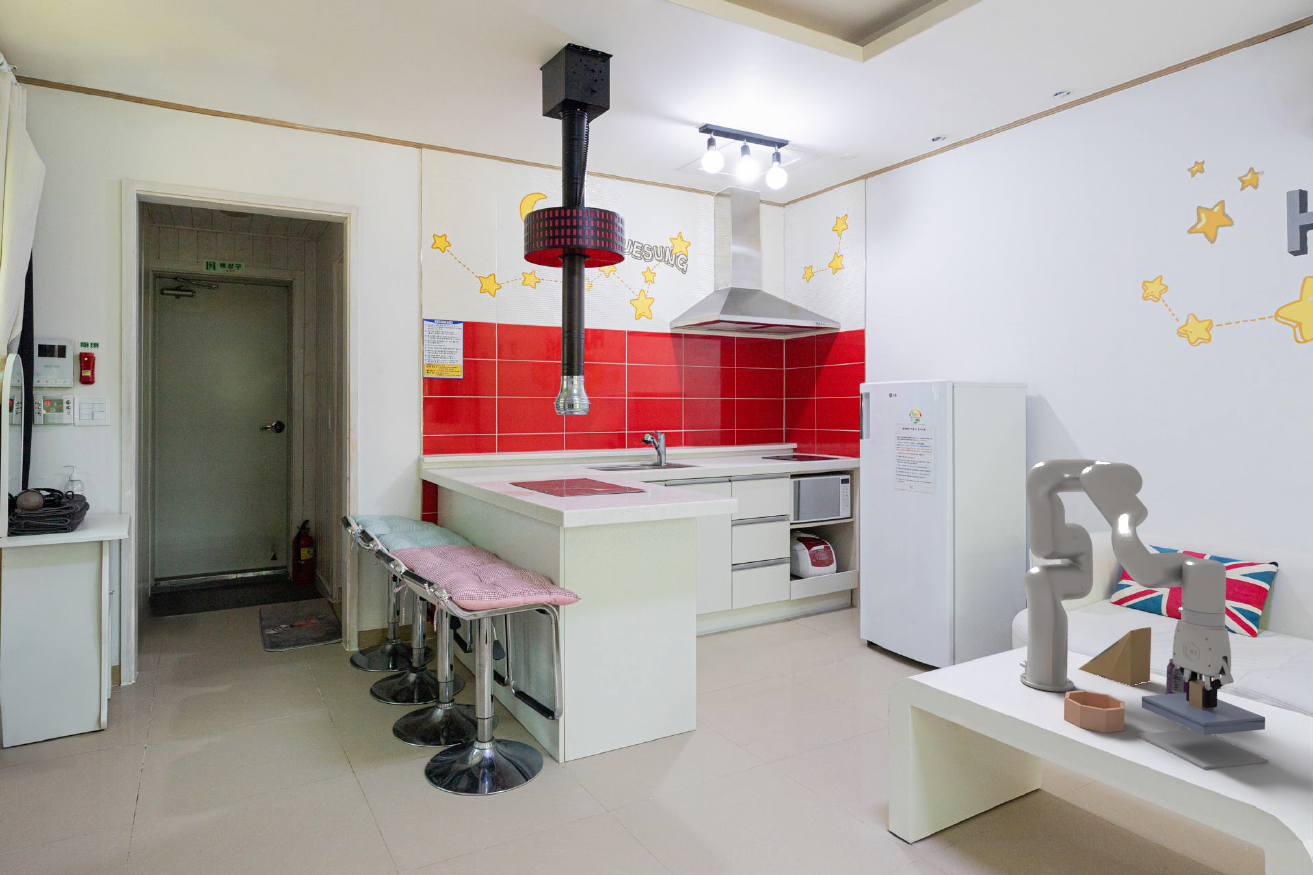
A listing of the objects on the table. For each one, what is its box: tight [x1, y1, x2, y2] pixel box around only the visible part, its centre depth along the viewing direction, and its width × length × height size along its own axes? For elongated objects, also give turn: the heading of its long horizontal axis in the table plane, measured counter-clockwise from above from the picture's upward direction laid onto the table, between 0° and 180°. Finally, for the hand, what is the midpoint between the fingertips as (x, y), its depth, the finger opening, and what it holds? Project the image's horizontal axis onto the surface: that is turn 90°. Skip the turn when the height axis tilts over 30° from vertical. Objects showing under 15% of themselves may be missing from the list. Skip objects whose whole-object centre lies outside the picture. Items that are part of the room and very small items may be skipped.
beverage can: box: [1165, 657, 1204, 694], centre depth 180 cm, size 7×7×12 cm
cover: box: [1141, 680, 1266, 735], centre depth 159 cm, size 15×15×8 cm
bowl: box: [1063, 689, 1126, 733], centre depth 174 cm, size 12×12×5 cm
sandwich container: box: [1078, 626, 1152, 687], centre depth 206 cm, size 9×15×15 cm, turn 24°
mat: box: [1136, 728, 1270, 770], centre depth 159 cm, size 16×16×1 cm
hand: (1201, 703), depth 159 cm, fingers closed on cover, 3 cm apart
